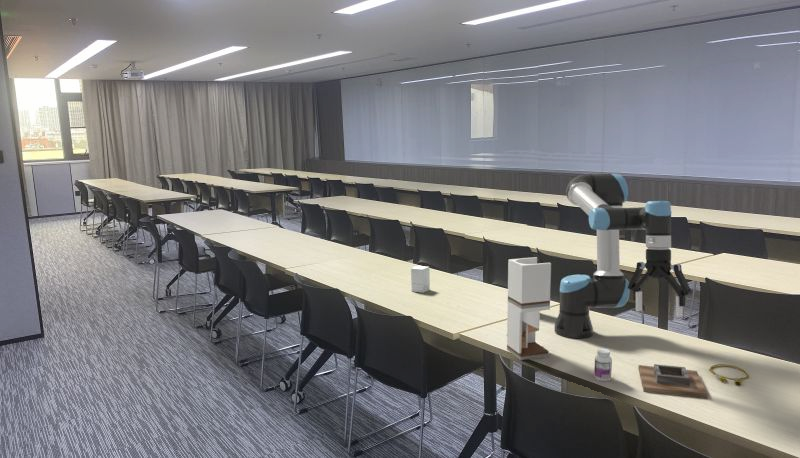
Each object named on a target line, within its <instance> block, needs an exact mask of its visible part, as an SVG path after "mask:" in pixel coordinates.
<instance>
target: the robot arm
mask: <svg viewBox="0 0 800 458" xmlns="http://www.w3.org/2000/svg"><path fill="white" fill-rule="evenodd" d="M628 187H629V186H628V183H627V181H626V179H625V177H624V176H623V175H621V174H619V173H618V174H617V173H597V174H596V173H595V174H594V173H591V174H588V173H586V174H581V175H577V176H575V177H574V178H573V179H571V180H570V181H569V182H568V184H567V187H566V189H565V194H566V198H567V199H568V201H569V202H570V203H571V204H572V205H574V206H578V207H579V208H580V209H581V210H582V211H583V212H584V213H585V214H586V215H587V216H588V225H589V227H590V228H591V229H592V230H596V265H597V268H596V269H597V270H596V271H594V273H593V278H591V277H590V275H587V274H572V275H567V276H564V277H563V278H562V279H561V280H560V285H559V313H558V316H557V318H556V321H555V322H554V323H555V324H554V333H555V334H557V335H558V336H562V337H566V338H571V339H585V338H589V337H591V336H593V335H594V327H593V324H592V320H591V317H590V309H592V308H597V309H598V308H599V309H600V308H612V309H615V308H621V307H624V306H626V304H627V302H628V300H629V298H630V293H631V291H632V292H633V296H632V297H633V298H632V299H633V301H634V302H635V312H642V311H643V291H642V290H641V289H642V288H643V287H644V286H645V284H646V283H647V282H649V280H650V278H659V279H660V278H664V279H665V280H666V281H667V283H668V284H669V285H670V286H671V287H672V289H673V290H674V291H675V292H676V294H677V295H676V296H675V317H676V318H680V317H683V315H684V314H683V308H684V307H685V306H686V296H689V295H692V292H693V291H692V289H691V287H690V286H689V285H690V284H689V283H688V281H687V279H686V277H685V274H684V272H683V271H682V265H681V264H680V263H678V264H672V263H671V262H672V250H671V249H670V248H672V206H671V201H668V200H651V201H650V200H649V201H647V202H646V203H645V206H643V207H642V206H641V207H640V206H639V207H623V206H624V203H626V202H627V201H628V199H629V198H628V197H629V188H628ZM622 230H624V231H625V230H626V231H628V230H629V231H631V230H632V231H633V230H642V231H645V247H646V249H645V260H646V262H643V261H639V262H636V267H635V270H634V272H633V274H632V277H631V279H630V281H629V280H628V279H627V278H625V274H624V273H623V272H622V271H621V269H620V267H621V265H620V264H621V263H620V261H621V260H620V231H622ZM644 269H646V270H647V271H645V273H644V274H643V272H644ZM671 271H673V273H674V275H675V276H676V279H677V280H676V279H675V278H674V275H673V274H672V272H671ZM642 274H643V276H642ZM641 276H642V277H641ZM640 277H641V279H640Z"/></svg>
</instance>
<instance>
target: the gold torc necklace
mask: <svg viewBox="0 0 800 458" xmlns="http://www.w3.org/2000/svg"><path fill="white" fill-rule="evenodd" d="M719 367H720V368H721V367H727V368H733V369H736V370H739V371H740V372H743V373H744V375H746V376H745V377H735V378H731V377H727V376H724V375H722V374H719V373H717V372H715V371H714V370H713V369H715V368H719ZM708 370H709V372H710V373H711V374H713V375H715V376H716V378H717V380H718V381H719V382H721V383H723V384H724V383H728V380H734V385H735V386H736V387H737V386H738V387H741V384H742V381H745V380H747V379H749V374H748V372H747V371H745V370H744V369H743V368H741V367H740V366H739V367H738V366H736V365H732V364H723V363H722V364H721V363H720V364H714V365H712V366H710V367H709V369H708ZM727 379H728V380H727Z"/></svg>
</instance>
